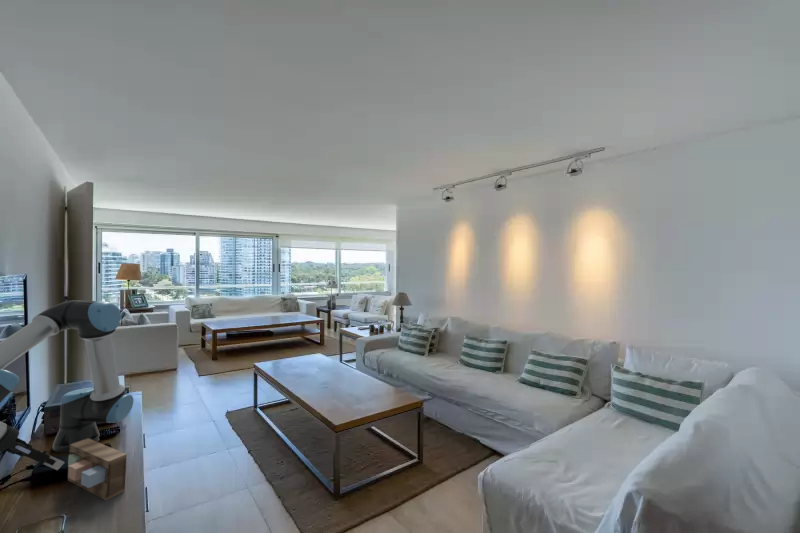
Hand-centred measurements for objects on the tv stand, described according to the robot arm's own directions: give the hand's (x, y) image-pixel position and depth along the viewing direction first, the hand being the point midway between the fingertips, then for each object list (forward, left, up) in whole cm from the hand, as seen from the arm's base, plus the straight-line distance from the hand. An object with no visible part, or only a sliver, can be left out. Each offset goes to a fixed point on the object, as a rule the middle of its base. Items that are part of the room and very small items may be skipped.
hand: (60, 465), depth 125 cm
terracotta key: (+7, +4, -2) cm, 8 cm away
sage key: (-2, +6, -2) cm, 6 cm away
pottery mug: (-12, +12, -9) cm, 19 cm away
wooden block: (+6, +9, -8) cm, 13 cm away
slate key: (+15, +6, -2) cm, 16 cm away
